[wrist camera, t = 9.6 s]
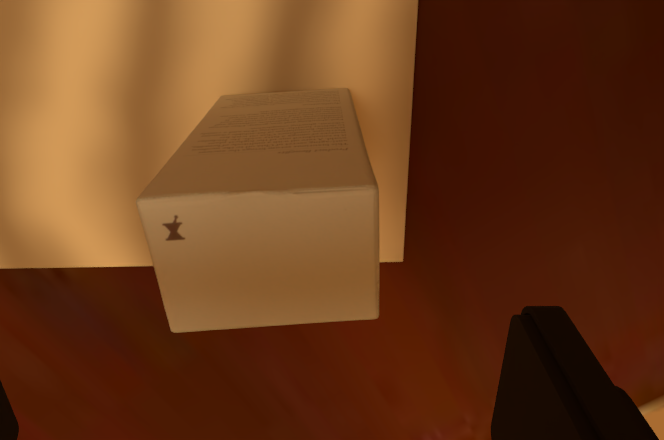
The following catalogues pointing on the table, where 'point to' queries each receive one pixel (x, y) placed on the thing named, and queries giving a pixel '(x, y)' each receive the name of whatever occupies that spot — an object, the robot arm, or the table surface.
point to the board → (174, 105)
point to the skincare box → (267, 215)
